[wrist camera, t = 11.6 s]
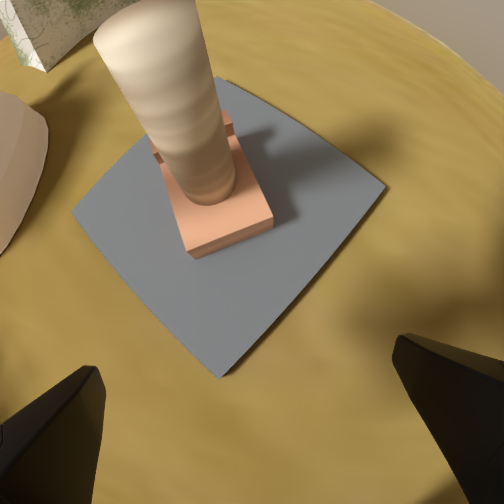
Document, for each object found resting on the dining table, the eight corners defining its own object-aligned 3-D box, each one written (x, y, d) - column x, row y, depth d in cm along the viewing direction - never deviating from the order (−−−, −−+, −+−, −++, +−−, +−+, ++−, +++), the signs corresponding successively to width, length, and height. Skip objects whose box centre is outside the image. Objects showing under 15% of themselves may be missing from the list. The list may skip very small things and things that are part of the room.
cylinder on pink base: (273, 228, 18) (270, 39, 5) (195, 259, 18) (60, 126, 5) (232, 139, 20) (194, -33, 7) (165, 165, 19) (75, 15, 7)
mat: (382, 191, 19) (385, 186, 18) (221, 377, 17) (218, 379, 16) (218, 82, 22) (217, 76, 22) (76, 215, 20) (70, 211, 19)
